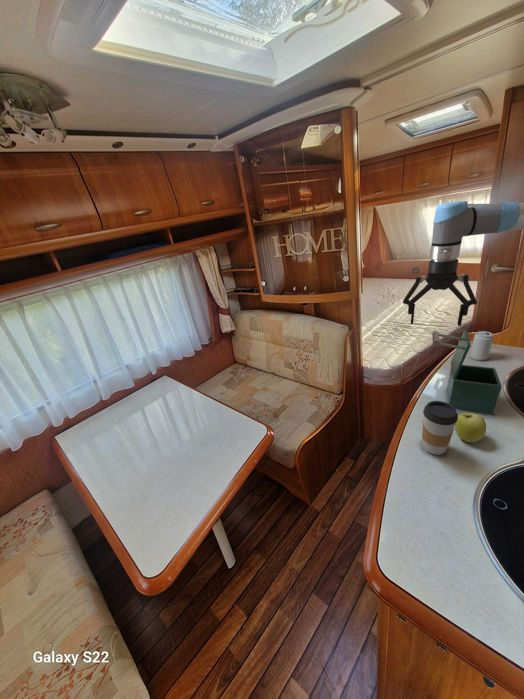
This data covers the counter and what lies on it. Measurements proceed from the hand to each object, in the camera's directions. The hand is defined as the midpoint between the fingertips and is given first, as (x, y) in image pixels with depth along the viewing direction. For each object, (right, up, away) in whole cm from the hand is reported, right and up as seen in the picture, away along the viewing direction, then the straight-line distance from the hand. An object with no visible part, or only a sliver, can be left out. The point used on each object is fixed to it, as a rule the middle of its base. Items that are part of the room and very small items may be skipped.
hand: (434, 323), depth 92 cm
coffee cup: (-6, -39, -9) cm, 40 cm away
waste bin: (+16, -28, +6) cm, 33 cm away
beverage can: (+39, -13, +30) cm, 51 cm away
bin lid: (+9, -11, +1) cm, 14 cm away
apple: (+6, -36, -7) cm, 37 cm away
